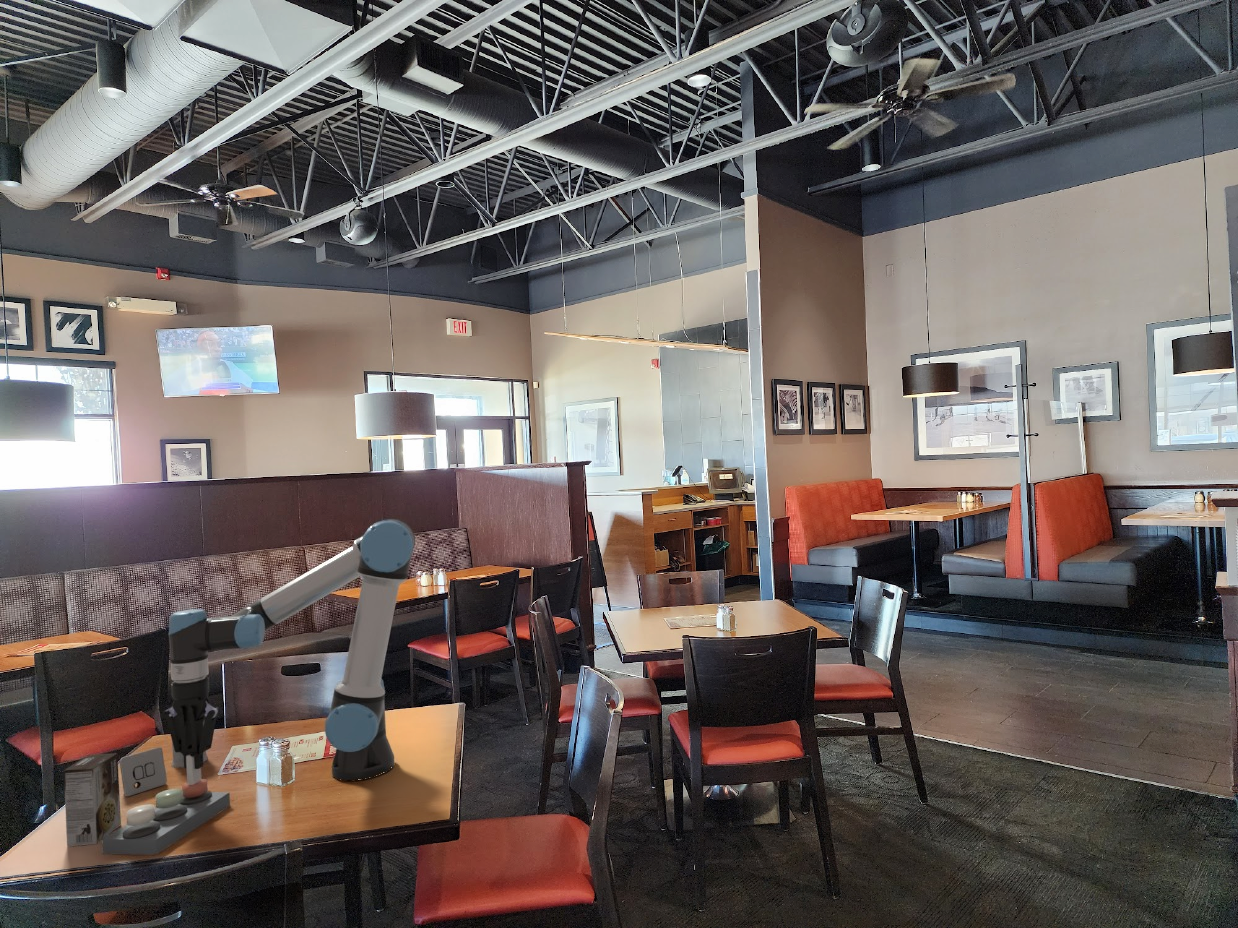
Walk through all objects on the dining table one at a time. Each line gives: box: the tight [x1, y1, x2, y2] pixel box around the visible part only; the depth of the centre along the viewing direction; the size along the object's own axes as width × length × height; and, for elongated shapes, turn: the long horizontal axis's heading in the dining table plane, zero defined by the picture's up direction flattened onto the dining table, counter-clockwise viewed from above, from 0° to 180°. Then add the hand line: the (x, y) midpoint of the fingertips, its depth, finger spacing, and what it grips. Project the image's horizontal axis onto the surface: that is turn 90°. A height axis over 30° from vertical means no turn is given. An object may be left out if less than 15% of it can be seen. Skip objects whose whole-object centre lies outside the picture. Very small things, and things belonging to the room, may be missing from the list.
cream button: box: [126, 803, 156, 826], centre depth 158 cm, size 5×5×2 cm
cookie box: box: [63, 752, 122, 847], centre depth 164 cm, size 9×6×16 cm
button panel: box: [101, 790, 231, 856], centre depth 166 cm, size 12×23×4 cm, turn 172°
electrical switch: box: [119, 747, 168, 797], centre depth 190 cm, size 9×5×9 cm, turn 141°
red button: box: [181, 778, 209, 798], centre depth 174 cm, size 5×5×2 cm
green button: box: [155, 788, 183, 809], centre depth 166 cm, size 5×5×2 cm
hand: (194, 782), depth 174 cm, fingers closed
